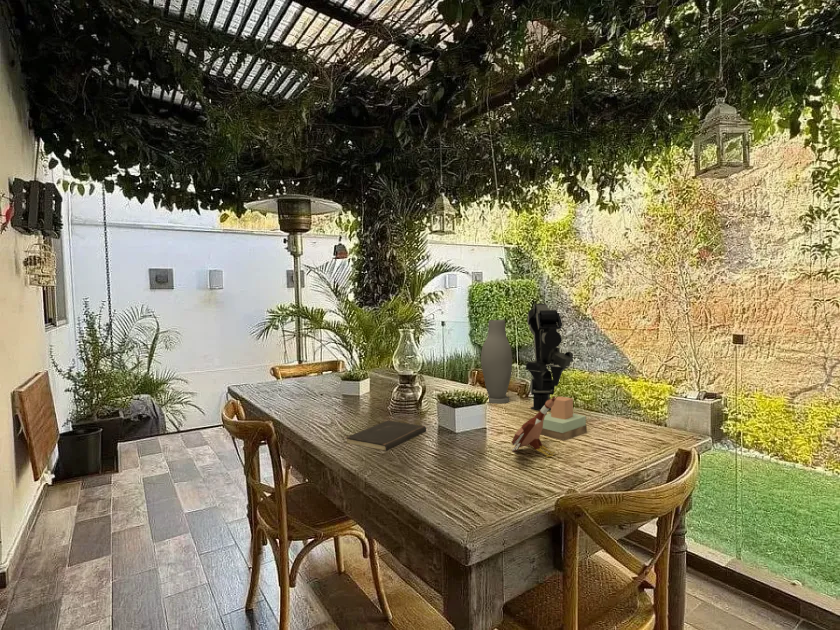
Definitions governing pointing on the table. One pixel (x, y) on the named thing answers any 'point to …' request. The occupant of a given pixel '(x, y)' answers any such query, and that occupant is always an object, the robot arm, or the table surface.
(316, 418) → the table surface
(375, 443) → the hardcover book
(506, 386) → the vase
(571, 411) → the terracotta block
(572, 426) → the sage slab
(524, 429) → the decorative bird
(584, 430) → the walnut slab
